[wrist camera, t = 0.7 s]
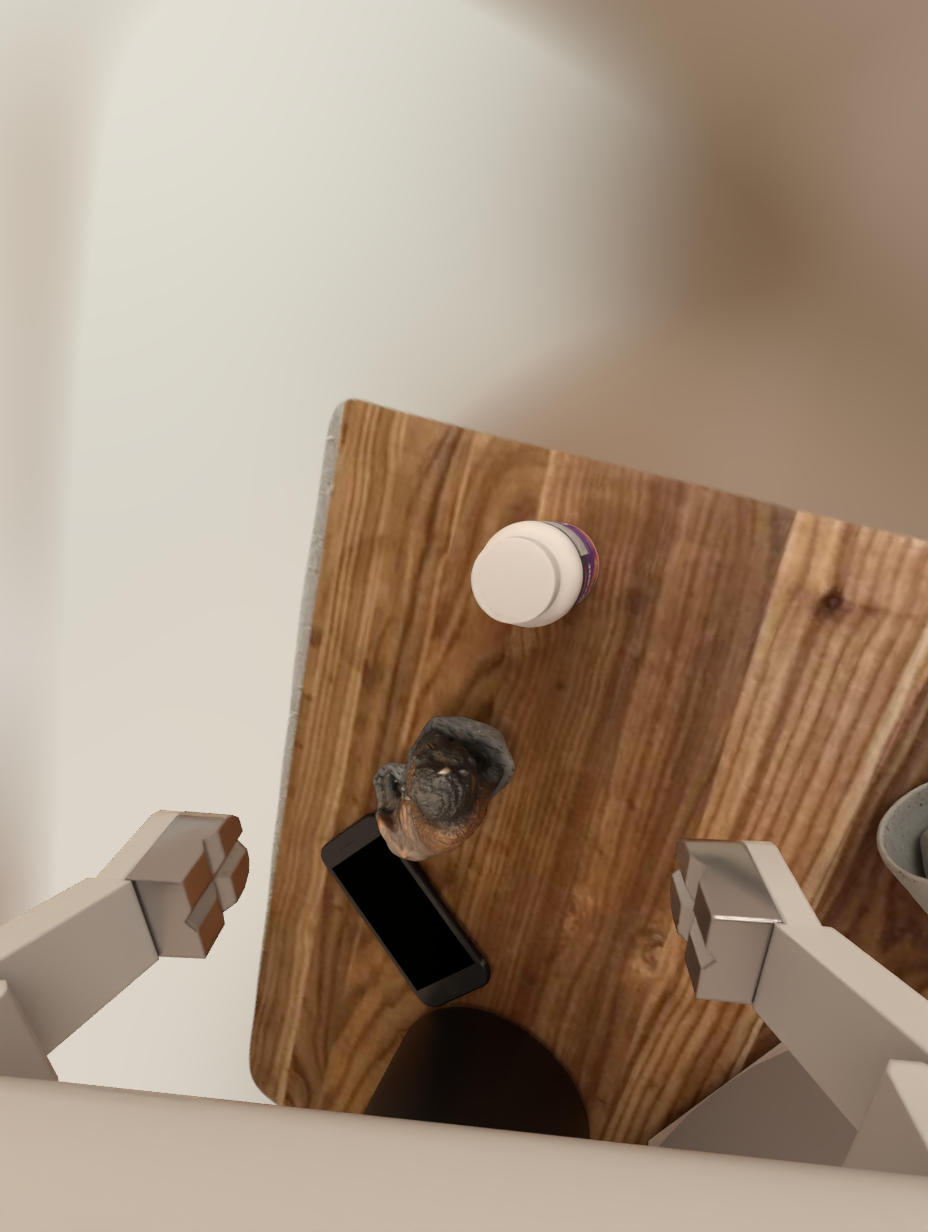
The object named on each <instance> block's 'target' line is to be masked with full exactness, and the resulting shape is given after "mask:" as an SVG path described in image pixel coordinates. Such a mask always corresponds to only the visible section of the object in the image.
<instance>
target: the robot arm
mask: <svg viewBox="0 0 928 1232" xmlns="http://www.w3.org/2000/svg"><path fill="white" fill-rule="evenodd" d="M241 833H242V828H241V824H240V820H239V818H238V817H236V816H233V815H224V814H211V813H199V812H186V811H185V812H178V811H166V810H160V811H158V812H156V813H154V814H152V815H151V816H150V817H149V818H148V819H147V821H146V822H145V823H144V824H143V825H142V826H141V827H140V828H139V830H138V831H137V832H136V833H135V834H134V835H133V837H132V838H131V839H130V840H129V841H128V842H127V843H126V844H125V845H124V847H123V848H122V849H121V850H120V851H119V852H118V853H117V854H116V856H115V857H114V858H113V859H112V860H111V861H110V862H109V864H108V865H107V866H106V867H105V868H104V869H103V870H102V871H101V872H100V874H99V875H98V876H97V877H96V878H86V879H84V880H83V881H81V882H79V883H77V884H75V885H74V886H72V887H70V888H68V889H67V890H65V891H63V892H61V893H59V894H58V895H56V896H54V897H52V898H50V899H49V900H47V901H45V902H43V903H42V904H40V905H38V906H36V907H34V908H33V909H31V910H29V911H27V912H25V913H24V914H22V915H20V916H18V917H16V918H15V919H13V920H11V921H9V922H7V923H6V924H4V925H2V926H0V1232H928V1000H927V999H925V998H924V997H923V996H921V995H920V994H919V993H917V992H916V991H915V990H913V989H912V988H911V987H910V986H908V985H907V984H906V983H904V982H903V981H902V980H900V979H899V978H898V977H897V976H895V975H894V974H893V973H891V972H890V971H889V970H887V969H886V968H885V967H883V966H882V965H881V964H880V963H878V962H877V961H876V960H874V959H873V958H872V957H870V956H869V955H868V954H866V953H865V952H864V951H863V950H861V949H860V948H859V947H857V946H856V945H855V944H853V943H852V942H851V941H850V940H848V939H847V938H846V937H844V936H843V935H842V934H840V933H839V932H838V931H836V930H835V929H834V928H833V927H824V926H822V925H821V923H820V922H819V920H818V918H817V916H816V915H815V913H814V911H813V909H812V908H811V906H810V904H809V902H808V901H807V899H806V897H805V895H804V894H803V892H802V890H801V888H800V887H799V885H798V883H797V881H796V880H795V878H794V876H793V874H792V873H791V871H790V869H789V867H788V866H787V864H786V862H785V860H784V859H783V857H782V855H781V853H780V852H779V850H778V848H777V846H775V845H774V844H773V843H772V842H769V841H743V840H740V841H737V840H715V839H692V838H680V839H679V841H678V843H677V847H676V852H675V856H676V859H677V862H678V865H679V868H678V869H677V870H676V871H675V872H674V873H673V874H672V879H671V887H670V893H671V908H672V913H673V919H674V923H675V926H676V930H677V933H678V934H679V935H680V936H681V937H682V938H683V939H684V940H685V941H686V942H687V947H686V952H685V961H686V965H687V968H688V971H689V975H690V978H691V982H692V985H693V988H694V992H695V995H696V998H697V999H705V1000H714V1001H723V1002H733V1003H742V1004H751V1005H753V1007H752V1008H753V1009H754V1010H755V1011H756V1013H757V1014H758V1015H759V1016H760V1017H761V1018H762V1020H763V1021H764V1022H765V1023H766V1024H767V1025H768V1027H769V1028H770V1029H771V1030H772V1031H773V1033H774V1034H775V1035H776V1036H777V1037H778V1038H779V1040H780V1041H781V1042H782V1043H783V1044H784V1045H785V1047H786V1048H787V1049H788V1050H789V1051H790V1052H791V1054H792V1055H793V1056H794V1057H795V1058H796V1059H797V1061H798V1062H799V1063H800V1064H801V1065H802V1067H803V1068H804V1069H805V1070H806V1071H807V1072H808V1074H809V1075H810V1076H811V1077H812V1078H813V1079H814V1081H815V1082H816V1083H817V1084H818V1085H819V1086H820V1088H821V1089H822V1090H823V1091H824V1092H825V1094H826V1095H827V1096H828V1097H829V1098H830V1099H831V1101H832V1102H833V1103H834V1104H835V1105H836V1106H837V1108H838V1109H839V1110H840V1111H841V1112H842V1113H843V1115H844V1116H845V1117H846V1118H847V1119H848V1120H849V1122H850V1123H851V1124H852V1125H853V1126H854V1128H855V1129H856V1130H857V1133H856V1136H855V1138H854V1140H853V1142H852V1145H851V1147H850V1149H849V1151H848V1154H847V1156H846V1158H845V1160H844V1163H843V1165H842V1167H839V1166H829V1165H820V1164H811V1163H802V1162H793V1161H784V1160H774V1159H765V1158H756V1157H747V1156H738V1155H728V1154H719V1153H710V1152H701V1151H692V1150H682V1149H673V1148H664V1147H655V1146H646V1145H637V1144H628V1143H618V1142H609V1141H600V1140H591V1139H582V1138H573V1137H564V1136H555V1135H545V1134H536V1133H527V1132H518V1131H509V1130H500V1129H491V1128H482V1127H472V1126H463V1125H454V1124H445V1123H436V1122H427V1121H418V1120H408V1119H399V1118H390V1117H381V1116H371V1115H362V1114H353V1113H343V1112H334V1111H325V1110H316V1109H306V1108H297V1107H288V1106H279V1105H269V1104H260V1103H250V1102H242V1101H232V1100H223V1099H214V1098H205V1097H195V1096H186V1095H176V1094H168V1093H159V1092H150V1091H140V1090H132V1089H122V1088H113V1087H104V1086H95V1085H86V1084H77V1083H67V1082H58V1076H57V1075H56V1073H55V1071H54V1069H53V1067H52V1065H51V1063H50V1062H49V1060H48V1058H47V1055H48V1054H49V1053H50V1052H51V1051H52V1050H54V1048H56V1047H57V1046H58V1045H59V1044H61V1043H62V1042H63V1041H64V1040H65V1039H66V1038H68V1037H69V1036H70V1035H71V1034H72V1033H73V1032H75V1031H76V1030H77V1029H78V1028H79V1027H80V1026H82V1025H83V1024H84V1023H85V1022H86V1021H87V1020H89V1019H90V1018H91V1017H92V1016H93V1015H94V1014H96V1013H97V1012H98V1011H99V1010H100V1009H101V1008H103V1007H104V1006H105V1005H106V1004H107V1003H108V1002H110V1001H111V1000H112V999H113V998H114V997H116V996H117V995H118V994H119V993H120V992H121V991H123V990H124V989H125V988H126V987H127V986H128V985H130V984H131V983H132V982H133V981H134V980H135V979H136V978H138V977H139V976H140V975H141V974H142V973H143V972H145V971H146V970H147V969H148V968H149V967H151V966H152V965H153V964H154V963H155V962H156V961H157V960H159V957H158V956H162V957H184V958H203V959H204V958H206V956H207V954H208V953H209V951H210V949H211V947H212V946H213V944H214V942H215V940H216V939H217V937H218V935H219V933H220V931H221V930H222V928H223V926H224V924H225V923H224V917H223V912H224V911H225V910H227V909H228V908H230V907H231V906H232V905H233V904H235V903H236V902H237V901H238V899H239V897H240V896H241V894H242V892H243V890H244V888H245V884H246V881H247V877H248V873H249V856H248V852H247V849H246V848H245V847H244V846H243V845H242V844H241V843H240V842H239V841H238V840H237V839H238V838H239V836H240V834H241Z"/></svg>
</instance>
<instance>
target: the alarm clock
mask: <svg viewBox="0 0 928 1232" xmlns="http://www.w3.org/2000/svg"><path fill="white" fill-rule="evenodd" d="M856 1133H857V1130H856V1129H855V1128H854V1126H853V1125H852V1124H851V1123H850V1122H849V1120H848V1119H847V1118H846V1117H845V1116H844V1115H843V1113H842V1112H841V1111H840V1110H839V1109H838V1108H837V1106H836V1105H835V1104H834V1103H833V1102H832V1101H831V1099H830V1098H829V1097H828V1096H827V1095H826V1094H825V1092H824V1091H823V1090H822V1089H821V1088H820V1086H819V1085H818V1084H817V1083H816V1082H815V1081H814V1079H813V1078H812V1077H811V1076H810V1075H809V1074H808V1072H807V1071H806V1070H805V1069H804V1068H803V1067H802V1065H801V1064H800V1063H799V1062H798V1061H797V1059H796V1058H795V1057H794V1056H793V1055H792V1054H791V1052H790V1051H789V1050H788V1049H787V1048H786V1047H785V1045H784V1044H783V1043H782V1042H781V1043H780V1044H778V1045H777V1046H776V1047H774V1048H773V1049H772V1050H770V1051H769V1052H768V1053H766V1054H765V1055H763V1056H762V1057H761V1058H759V1059H758V1060H757V1061H755V1062H754V1063H753V1064H751V1065H750V1066H749V1067H747V1068H746V1069H745V1070H743V1071H742V1072H740V1073H739V1074H738V1075H736V1076H735V1077H734V1078H732V1079H731V1080H730V1081H728V1082H727V1083H726V1084H724V1085H723V1086H722V1087H720V1088H719V1089H718V1090H716V1091H715V1092H713V1093H712V1094H711V1095H709V1096H708V1097H707V1098H705V1099H704V1100H703V1101H701V1102H700V1103H699V1104H697V1105H696V1106H695V1107H693V1108H692V1109H690V1110H689V1111H688V1112H686V1113H685V1114H684V1115H682V1116H681V1117H680V1118H678V1119H677V1120H676V1121H674V1122H673V1123H672V1124H670V1125H669V1126H667V1127H666V1128H665V1129H663V1130H662V1131H661V1132H659V1133H658V1134H657V1135H655V1136H654V1137H653V1138H651V1139H650V1140H649V1141H648V1146H655V1147H664V1148H673V1149H682V1150H692V1151H701V1152H710V1153H719V1154H728V1155H738V1156H747V1157H756V1158H765V1159H774V1160H784V1161H793V1162H802V1163H811V1164H820V1165H829V1166H839V1167H842V1165H843V1163H844V1160H845V1158H846V1156H847V1154H848V1151H849V1149H850V1147H851V1145H852V1142H853V1140H854V1138H855V1136H856Z"/></svg>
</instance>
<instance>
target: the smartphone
mask: <svg viewBox="0 0 928 1232" xmlns="http://www.w3.org/2000/svg"><path fill="white" fill-rule="evenodd" d="M375 816H376V814H374V813H372V814H368V815H366V816H364V817H363V818H361V819H360V820H359V821H357V822H356V823H355V824H353V825H352V826H350V827H349V828H348V829H346V830H345V831H343V832H342V833H341V834H339V835H338V836H336V837H335V838H334V839H332V840H331V841H329V842H328V843H327V844H326V845H325V846H324V847H323V848H322V850H321V857H322V860H323V862H324V863H325V865H326V866H327V868H328V869H329V871H330V872H331V874H332V875H333V876H334V878H335V879H336V881H337V882H338V884H339V885H340V886H341V888H342V889H343V891H344V892H345V894H346V895H347V896H348V898H349V899H350V901H351V902H352V904H353V905H354V906H355V908H356V909H357V911H358V912H359V914H360V915H361V916H362V918H363V919H364V921H365V922H366V924H367V925H368V926H369V928H370V929H371V931H372V932H373V934H374V935H375V936H376V938H377V939H378V941H379V942H380V944H381V945H382V946H383V948H384V949H385V951H386V952H387V954H388V955H389V956H390V958H391V959H392V961H393V962H394V964H395V965H396V966H397V968H398V969H399V971H400V972H401V974H402V975H403V976H404V978H405V979H406V981H407V982H408V984H409V985H410V986H411V988H412V989H413V991H414V992H415V993H416V995H417V996H418V998H419V999H420V1000H421V1001H422V1002H423V1003H424V1004H426V1005H428V1006H432V1007H437V1006H440V1005H443V1004H445V1003H447V1002H449V1001H452V1000H454V999H456V998H458V997H461V996H463V995H465V994H467V993H469V992H472V991H474V990H476V989H479V988H481V987H483V986H484V985H486V984H487V983H488V982H489V980H490V975H491V971H490V968H489V966H488V964H487V963H486V961H485V960H484V958H483V957H482V955H481V954H480V953H479V951H478V950H477V948H476V947H475V946H474V944H473V943H472V941H471V940H470V939H469V937H468V936H467V935H466V933H465V932H464V930H463V929H462V928H461V926H460V925H459V923H458V922H457V921H456V919H455V918H454V916H453V915H452V914H451V912H450V911H449V910H448V908H447V907H446V905H445V904H444V903H443V901H442V900H441V898H440V897H439V896H438V894H437V893H436V891H435V890H434V889H433V887H432V886H431V885H430V883H429V882H428V880H427V879H426V878H425V876H424V875H423V873H422V872H421V871H420V869H419V868H418V867H417V865H416V864H415V862H414V861H411V860H407V859H404V858H402V857H399V856H397V855H395V854H394V853H392V852H391V850H390V849H389V847H388V846H387V843H386V841H385V839H384V838H383V837H382V835H381V833H380V830H379V827H378V822H377V820H376V817H375Z"/></svg>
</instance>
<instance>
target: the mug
mask: <svg viewBox="0 0 928 1232" xmlns="http://www.w3.org/2000/svg"><path fill="white" fill-rule="evenodd" d="M363 1115H371V1116H381V1117H390V1118H399V1119H408V1120H418V1121H427V1122H436V1123H445V1124H454V1125H463V1126H472V1127H482V1128H491V1129H500V1130H509V1131H518V1132H527V1133H536V1134H545V1135H555V1136H564V1137H573V1138H582V1139H590V1134H589V1128H588V1122H587V1118H586V1113H585V1110H584V1107H583V1104H582V1101H581V1098H580V1096H579V1094H578V1092H577V1090H576V1088H575V1086H574V1084H573V1082H572V1080H571V1079H570V1077H569V1076H568V1074H567V1073H566V1071H565V1070H564V1069H563V1067H562V1066H561V1065H560V1063H559V1062H558V1061H557V1060H556V1059H555V1058H554V1056H553V1055H552V1054H551V1053H550V1052H549V1051H548V1050H547V1049H546V1048H545V1047H544V1046H543V1045H542V1044H541V1043H539V1042H538V1041H537V1040H536V1039H535V1038H533V1037H532V1036H531V1035H529V1034H528V1033H527V1032H525V1031H524V1030H523V1029H521V1028H519V1027H518V1026H516V1025H514V1024H513V1023H511V1022H509V1021H507V1020H505V1019H503V1018H501V1017H498V1016H496V1015H494V1014H491V1013H488V1012H484V1011H481V1010H477V1009H471V1008H465V1007H452V1008H445V1009H439V1010H437V1011H434V1012H432V1013H430V1014H428V1015H426V1016H425V1017H423V1018H422V1019H420V1020H419V1021H417V1022H416V1023H414V1025H413V1026H412V1027H411V1028H410V1029H409V1030H408V1032H407V1033H406V1035H405V1037H404V1038H403V1040H402V1042H401V1044H400V1046H399V1048H398V1049H397V1051H396V1053H395V1055H394V1057H393V1059H392V1061H391V1063H390V1064H389V1066H388V1068H387V1070H386V1072H385V1074H384V1076H383V1077H382V1079H381V1081H380V1083H379V1085H378V1087H377V1089H376V1090H375V1092H374V1094H373V1096H372V1098H371V1100H370V1102H369V1103H368V1105H367V1107H366V1109H365V1111H364V1113H363Z"/></svg>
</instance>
